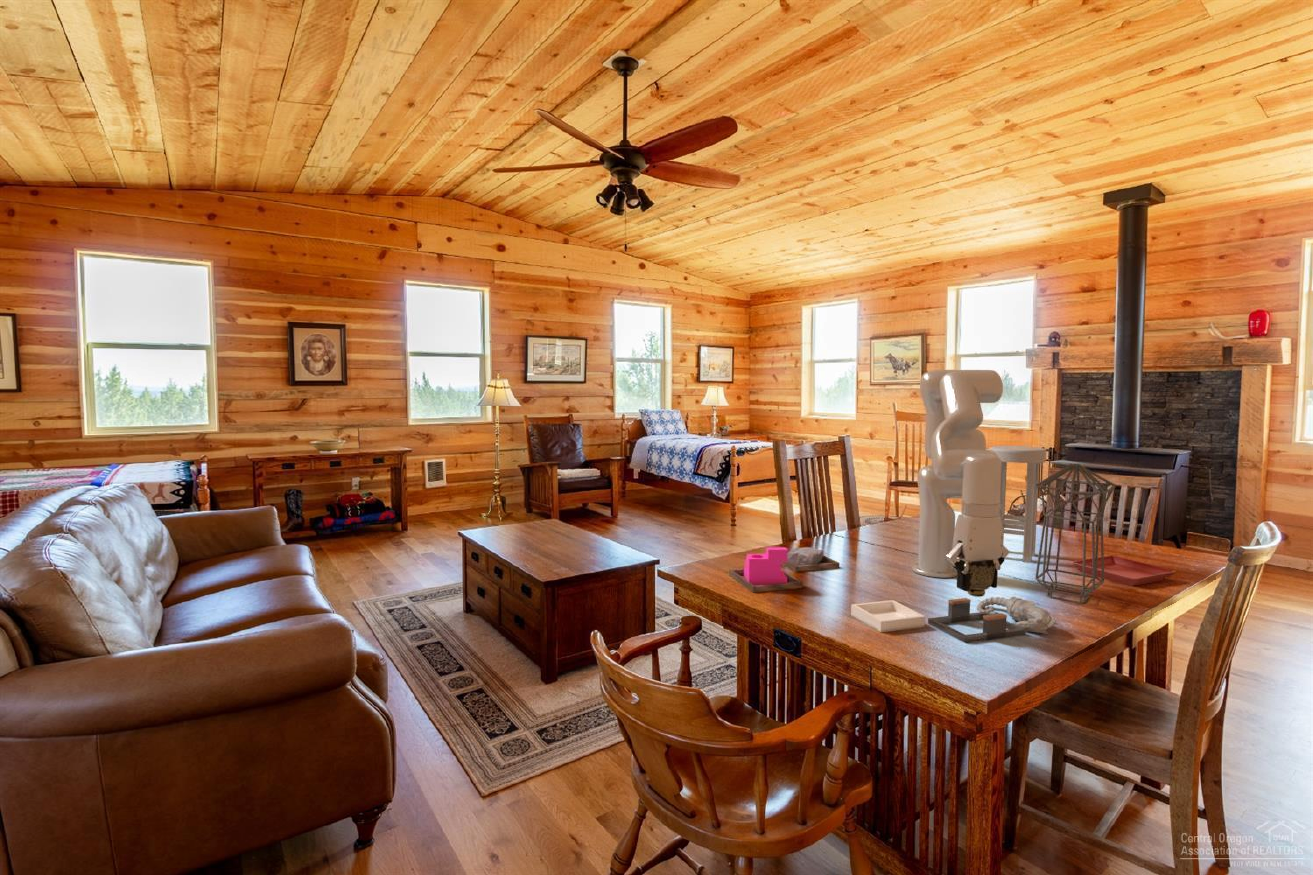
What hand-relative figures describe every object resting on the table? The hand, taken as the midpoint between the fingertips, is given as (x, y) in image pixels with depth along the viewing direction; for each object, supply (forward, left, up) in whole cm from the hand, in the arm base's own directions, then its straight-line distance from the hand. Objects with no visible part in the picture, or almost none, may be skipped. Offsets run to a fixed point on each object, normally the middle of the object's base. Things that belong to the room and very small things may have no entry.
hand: (976, 587), depth 145 cm
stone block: (+11, -59, -9) cm, 61 cm away
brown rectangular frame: (+10, -59, -9) cm, 61 cm away
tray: (+16, -9, -9) cm, 21 cm away
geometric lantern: (-39, -10, -10) cm, 41 cm away
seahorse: (-12, -1, -10) cm, 16 cm away
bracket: (+30, -45, -9) cm, 55 cm away
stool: (-58, -47, -10) cm, 75 cm away
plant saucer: (-71, -21, -10) cm, 75 cm away
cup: (0, 0, -2) cm, 2 cm away
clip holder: (0, +1, -9) cm, 9 cm away
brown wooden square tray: (+30, -45, -9) cm, 55 cm away
